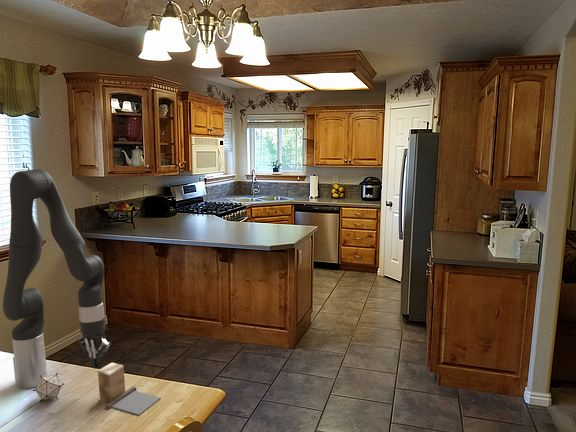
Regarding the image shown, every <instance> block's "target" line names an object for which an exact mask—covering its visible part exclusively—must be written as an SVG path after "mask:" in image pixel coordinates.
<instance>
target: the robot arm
mask: <svg viewBox="0 0 576 432" xmlns="http://www.w3.org/2000/svg"><path fill="white" fill-rule="evenodd" d="M58 190H59V189H58V187H57V185H56V183H55V181H54V179H53V178H52V176H51V175H50V173H49V172H48V171H47V170H45V169H41V168H37V169H36V168H35V169H28V170H26V169H25V170H21V171H16V172H15V173H13V175H12V176H11V179H10V181H9V197H10V201H9V202H10V235H9V243H8V245H9V246H8V262H7V263H8V265H7V275H6V280H5V281H6V282H5V287H4V293H3V297H2V311H3V314H4V316H5V317H6V319H7V320H10V321H12V322H13V321H19V320H21V321H20V322H19V323H18V324H17V325H15V326H14V327H13V329H12V330H11V340H12V349H13V357H12V361H13V369H14V370H13V372H14V380H15V382H14V383H15V384H16V386H17V387H18V388H20V389H32V388H36V387H37V385H38V383H39V381H40V379H41V377H40V375H41V376H42V377H45V376H48V371H47V361H46V360H47V358H46V350H45V349H46V348H45V337H44V326H45V309H44V307H45V305H44V297H43V295H42V293H41V291H40V290H39V289H38V288H36V287H27V288H25V285H26V283H27V280H28V279H29V277H30V275H31V274H32V272H33V271H34V269H35V268H36V266H37V265H38V264H39V261H40V260H41V256H42V251H43V250H42V249H43V234H42V233H41V230H40V228H39V226H38V225H37V224H36V222H35V220H34V215H33V211H34V209H33V208H34V201H35V200H38V199H40V200H41V202H42V203H43V204H44V205H45V207H46V209H47V212H48V216H49V223H50V231H51V232H50V233H52V237H53V239H54V241H55V243H56V244H57V245H58V247H59V248H60V250H61V252H63V255H64V260H65V261H66V265H67V267H68V271H69V273H70V274H71V276H72V277H73V279H75V280H77V281H79V282H83V284H82V285H81V287H80V288H79V289H78V291H77V297H78V317H79V318H78V319H79V330H80V333H81V334H82V337H80V338H78V339H77V343H78V345H79V346H80V348H81V349H82V351H83V352H84V354H85V355H86V356H87V355H88V357H89V358H90V365H91V368H92V369H99V368H100V367H101V365H102V362H101V360H102V359H101V357H103V356H105V355H106V353H107V352H108V350H109V348H110V347H111V346H112V341H107V340H106V335H105V333H104V332H105V330H106V319H105V318H106V317H105V307H104V303H103V302H104V301H103V291H102V288H103V283H104V277H105V264H104V262H103V260H102V258H101V257H99V256H98V255H94V254H92V255H91V254H90V255H87V256H85V253H84V251H83V250H84V249H85V248H86V245H87V244H86V242H85V240H84V237H82V235H81V234H80V232H79V231H78V229H77V227H76V226H75V225H74V223H73V220H72V219H71V216H70V215H69V213H68V211H67V209H66V206H65V203H64V202H63V198H62V196H61V195H60V192H59V191H58Z"/></svg>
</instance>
